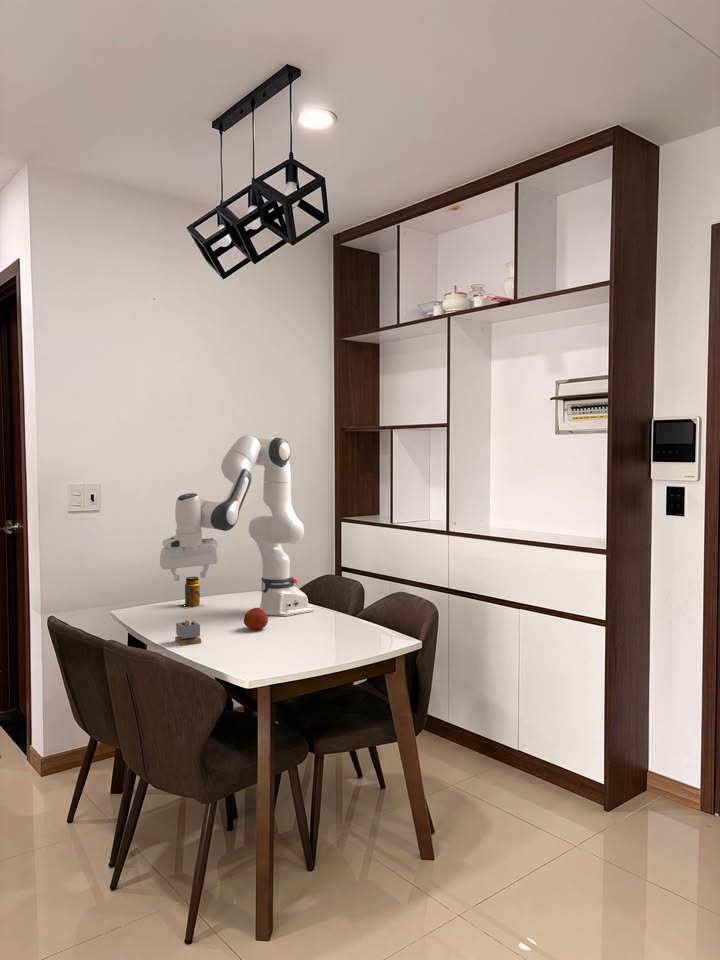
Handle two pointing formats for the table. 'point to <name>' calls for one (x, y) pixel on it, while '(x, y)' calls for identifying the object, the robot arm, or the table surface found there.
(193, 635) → the grey square frame
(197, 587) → the condiment
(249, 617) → the fruit
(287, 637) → the table surface
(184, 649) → the table surface
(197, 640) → the post block
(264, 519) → the robot arm
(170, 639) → the table surface
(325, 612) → the table surface
